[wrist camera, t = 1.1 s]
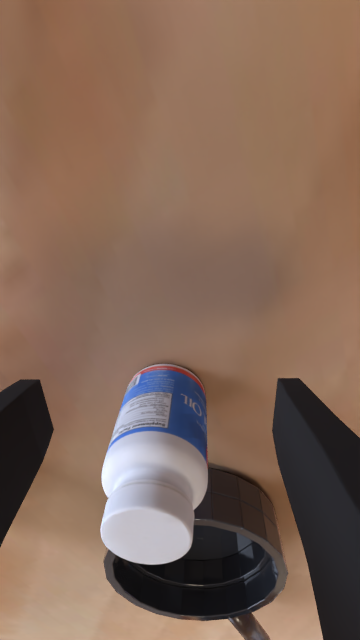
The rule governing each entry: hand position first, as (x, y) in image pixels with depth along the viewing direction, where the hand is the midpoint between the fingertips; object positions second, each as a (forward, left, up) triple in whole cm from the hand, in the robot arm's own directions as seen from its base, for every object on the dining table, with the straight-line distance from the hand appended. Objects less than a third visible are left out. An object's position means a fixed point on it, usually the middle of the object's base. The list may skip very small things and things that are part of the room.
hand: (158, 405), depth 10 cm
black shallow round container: (-11, -18, -10) cm, 24 cm away
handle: (-13, -29, -8) cm, 33 cm away
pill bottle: (-5, -6, -10) cm, 13 cm away
